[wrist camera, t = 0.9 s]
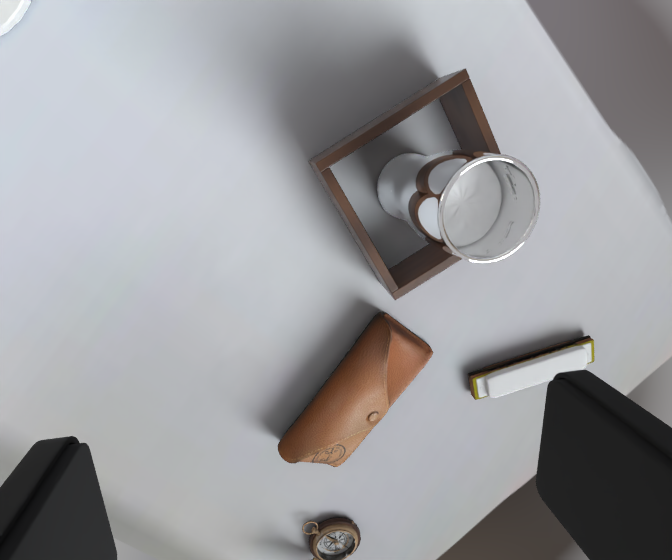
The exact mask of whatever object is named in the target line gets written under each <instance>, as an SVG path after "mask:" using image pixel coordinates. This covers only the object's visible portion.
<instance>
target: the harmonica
mask: <svg viewBox="0 0 672 560" xmlns="http://www.w3.org/2000/svg"><path fill="white" fill-rule="evenodd" d="M592 362H594V340H593V339H591V338H590V336H585V337H582V338H579V339H576V340H573V341H566V342H563V343H560V344H557V345H554V346H551V347H547V348H544V349H541V350H538V351H535V352H532V353H528V354H525V355H522V356H519V357H516V358H513V359H510V360H506V361H503V362H500V363H497V364H494V365H491V366H488V367H485V368H483V369H481V370H478V371H475V372H472V373H469V374H468V376H469V383H470V390H471V395H472V396H473V397H474V399H475V400H477V399H481V398H484V397H487V396H489V397H491V398H495V397H499V396H503V395H506V394H509V393H512V392H515V391H518V390H522V389H525V388H528V387H531V386H534V385H537V384H540V383H543V382H546V381H549V380H552V379H553V378H554V377H555V375H556V374H558V373H560V372H568V371H576V370H582V369H584V368H585V367H586V366H587V364H589V363H592Z"/></svg>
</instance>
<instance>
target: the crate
mask: <svg viewBox="0 0 672 560" xmlns="http://www.w3.org/2000/svg"><path fill="white" fill-rule="evenodd" d="M438 98H439V99H440V101H441V104H442V106H443V108H444V110H445V113H446V115H447V117H448V119H449V122H450V124H451V126H452V128H453V131H454V133H455V135H456V137H457V140H458V142H459V144H460V146H461V149H468V150H479V151H484V152H490V153H494V154H501V153H500V151H499V148H498V146H497V143H496V141H495V139H494V136H493V134H492V131H491V129H490V126H489V124H488V122H487V119H486V117H485V114H484V112H483V109H482V107H481V104H480V102H479V100H478V97H477V95H476V92H475V90H474V87H473V85H472V83H471V80H470V79H469V75H468V73H467V70H466V69H463V70H460V71H457V72H455V73H452V74H449V75H447V76H444V77H441V78H439V79H437V80H436V81H434V82H432V83H431V84H429V85H428V86H426V87H425V88H423V89H421V90H420V91H418V92H417V93H415V94H413V95H412V96H410V97H409V98H407V99H406V100H404V101H402V102H401V103H399V104H398V105H396V106H394V107H393V108H391V109H390V110H388V111H387V112H385V113H383V114H382V115H380V116H379V117H377V118H376V119H374V120H372V121H371V122H369V123H368V124H366V125H364V126H363V127H361V128H360V129H358V130H357V131H355V132H353V133H352V134H350V135H349V136H347V137H345V138H344V139H342V140H341V141H339V142H338V143H336V144H334V145H333V146H331V147H330V148H328V149H326V150H325V151H323V152H322V153H320V154H319V155H317V156H315V157H314V158H312V159H311V160H309V163H310V165H311V167H312V168H313V170H314V172H315V173H316V175H317V177H318V179H319V180H320V182H321V184H322V185H323V187H324V189H325V190H326V192H327V194H328V196H329V197H330V199H331V201H332V202H333V204H334V206H335V207H336V209H337V211H338V212H339V214H340V216H341V218H342V219H343V221H344V223H345V224H346V226H347V228H348V229H349V231H350V233H351V234H352V236H353V238H354V240H355V241H356V243H357V245H358V246H359V248H360V250H361V251H362V253H363V255H364V256H365V258H366V260H367V262H368V263H369V265H370V267H371V268H372V270H373V272H374V273H375V275H376V277H377V278H378V280H379V282H380V283H381V284H382V286H383V287H384V288H385V289H386V290H387V291H388V292H389V294H390V295H391V296H392V297H393V298H394V299H395V300H397V299H398V298H400V297H402V296H403V295H405V294H406V293H408V292H410V291H411V290H413V289H414V288H416V287H418V286H419V285H421V284H422V283H424V282H426V281H427V280H429V279H430V278H432V277H434V276H435V275H437V274H438V273H440V272H442V271H443V270H445V269H446V268H448V267H450V266H451V265H453V264H454V263H456V262H458V261H459V260H461V259H462V258H460V257H458V256H455V255H452V254H450V253H447V252H445V251H443V250H441V249H439V248H437V247H435V246H433V245H431V244H429V245H427V246H425V247H424V248H422V249H421V250H419V251H417V252H416V253H414V254H413V255H411V256H409V257H408V258H406V259H405V260H403V261H401V262H400V263H398V264H397V265H395V266H393V267H392V268H390V269H389V270H388V269H387V267H386V265H385V264H384V262H383V260H382V258H381V257H380V255H379V253H378V251H377V250H376V248H375V246H374V244H373V243H372V241H371V239H370V237H369V236H368V234H367V232H366V230H365V229H364V227H363V225H362V223H361V222H360V220H359V218H358V217H357V215H356V213H355V211H354V210H353V208H352V206H351V204H350V203H349V201H348V199H347V197H346V196H345V194H344V192H343V190H342V189H341V187H340V185H339V183H338V182H337V180H336V178H335V176H334V175H333V173H332V171H331V170H330V168H329V167H330V166H332V165H333V164H335V163H336V162H338V161H340V160H341V159H343V158H344V157H346V156H348V155H349V154H351V153H352V152H354V151H355V150H357V149H359V148H360V147H362V146H363V145H365V144H367V143H368V142H370V141H371V140H373V139H374V138H376V137H378V136H379V135H381V134H382V133H384V132H386V131H387V130H389V129H390V128H392V127H393V126H395V125H397V124H398V123H400V122H401V121H403V120H405V119H406V118H408V117H409V116H411V115H412V114H414V113H416V112H417V111H419V110H420V109H422V108H424V107H425V106H427V105H428V104H430V103H431V102H433V101H435V100H436V99H438Z"/></svg>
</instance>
